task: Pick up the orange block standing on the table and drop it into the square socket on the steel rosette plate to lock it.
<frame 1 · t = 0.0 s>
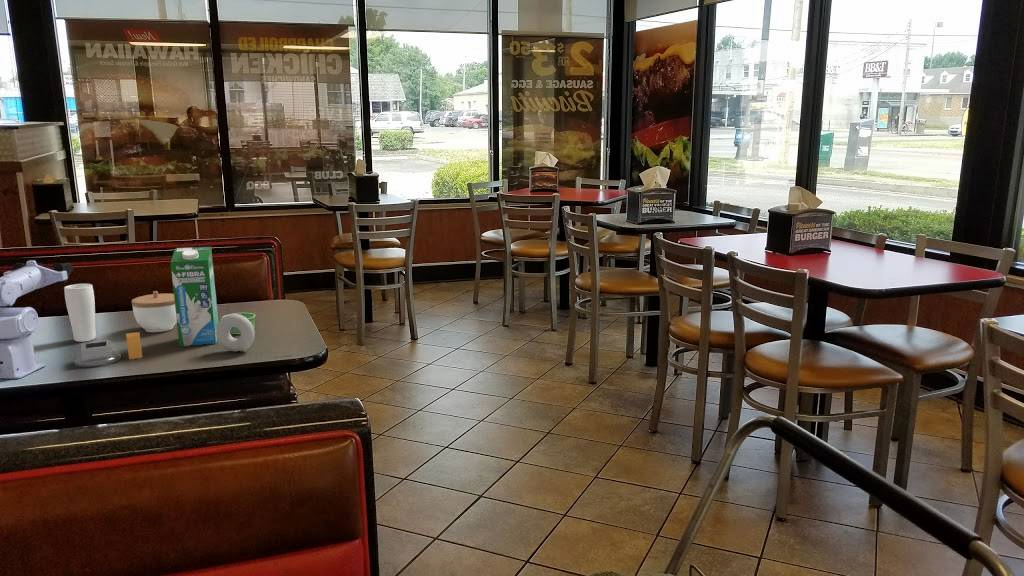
hand: (56, 266, 189), 22 cm above the table, tool horizontal, fingers open, 7 cm apart
lidded bowl: (159, 329, 212), on the table
ramekin: (239, 331, 209), on the table
milk carton: (200, 341, 199), on the table
orange block: (135, 357, 185), on the table
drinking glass: (85, 340, 201), on the table
rosette: (98, 361, 182), on the table
donut: (237, 352, 189), on the table
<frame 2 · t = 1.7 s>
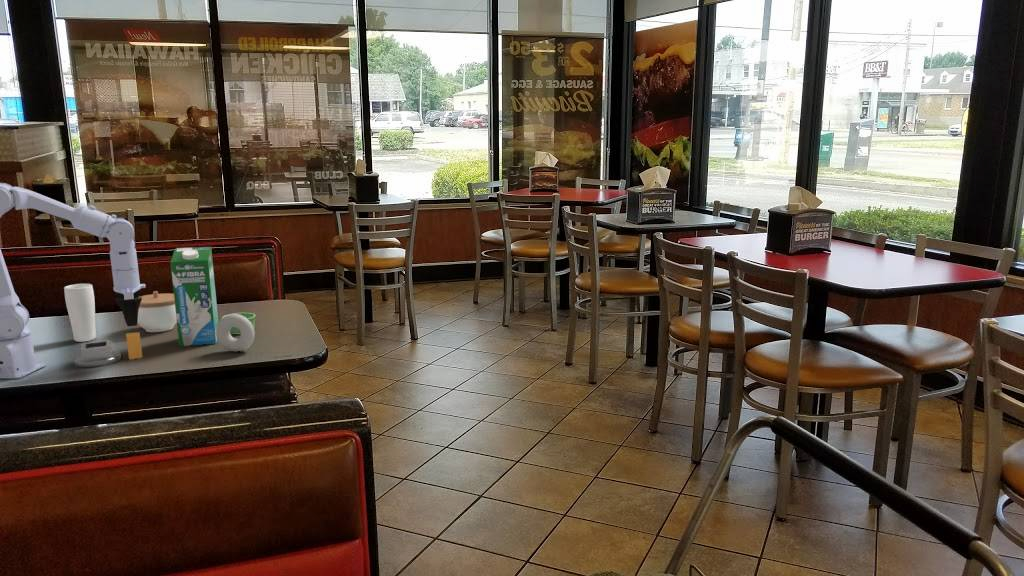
hand: (131, 322, 184), 9 cm above the table, tool pointing down, fingers open, 7 cm apart
nothing on the table moved.
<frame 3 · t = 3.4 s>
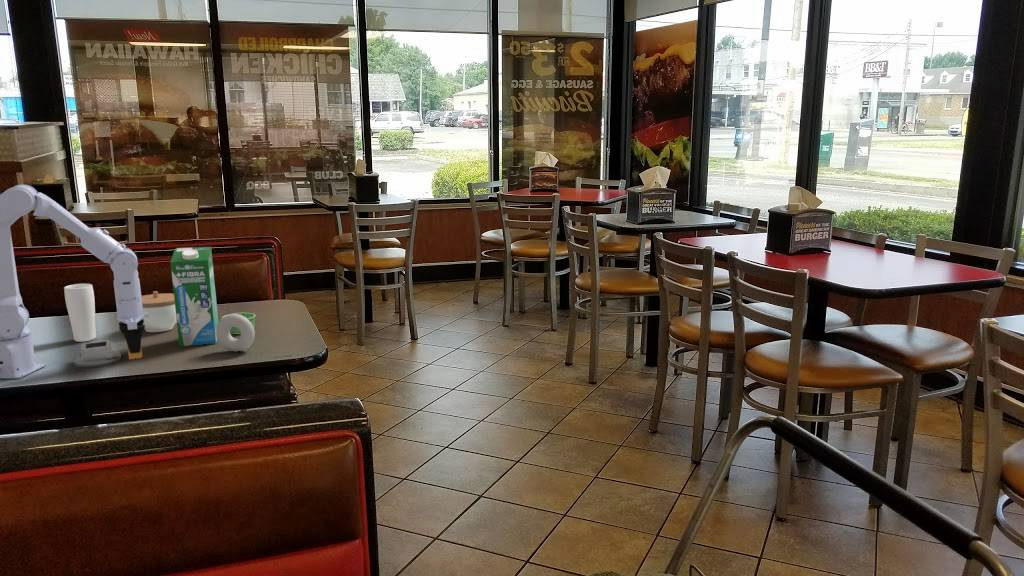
hand: (134, 350, 185), 2 cm above the table, tool pointing down, fingers closed on orange block, 3 cm apart
orange block: (135, 356, 185), on the table, touching gripper
everything else where it was.
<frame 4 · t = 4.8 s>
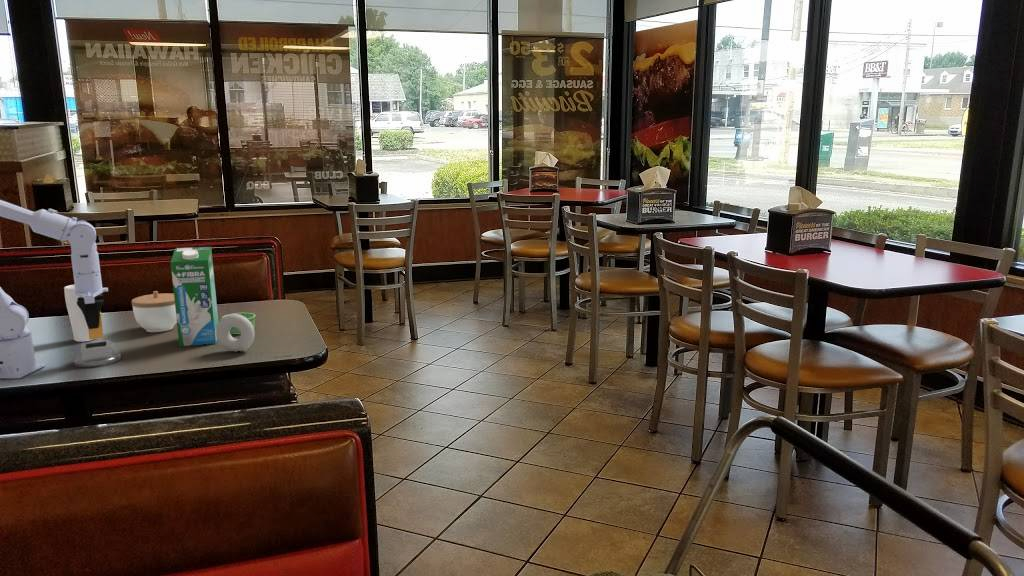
hand: (93, 326, 180), 9 cm above the table, tool pointing down, fingers closed on orange block, 3 cm apart
orange block: (96, 337, 181), point 6 cm above the table, touching gripper
everything else where it was.
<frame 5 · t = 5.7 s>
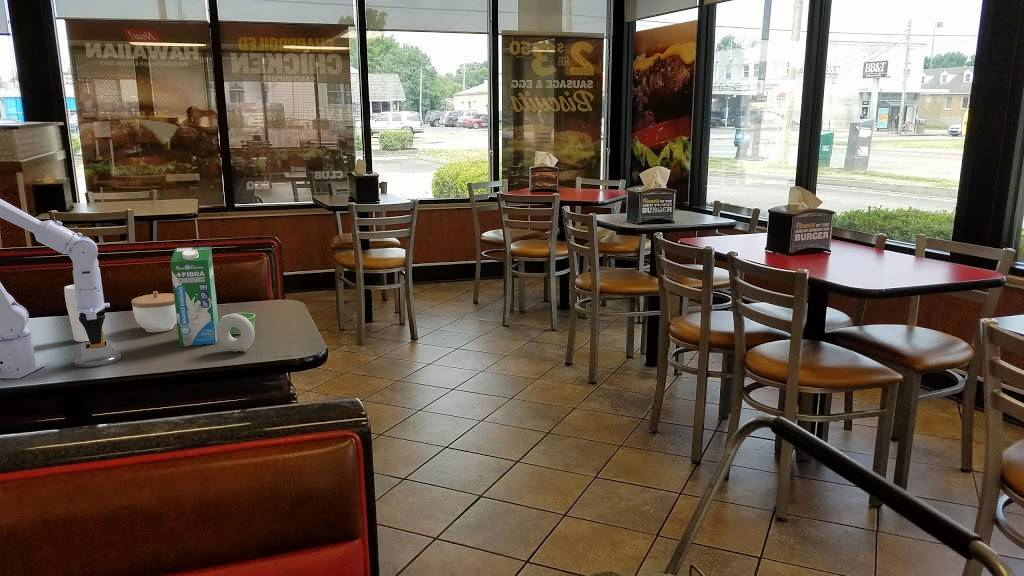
hand: (95, 341, 181), 5 cm above the table, tool pointing down, fingers closed on orange block, 3 cm apart
orange block: (98, 353, 182), point 2 cm above the table, touching gripper
everything else where it was.
when the fingers open (5 cm above the table, at t = 6.5 s): orange block stays where it is, resting on rosette.
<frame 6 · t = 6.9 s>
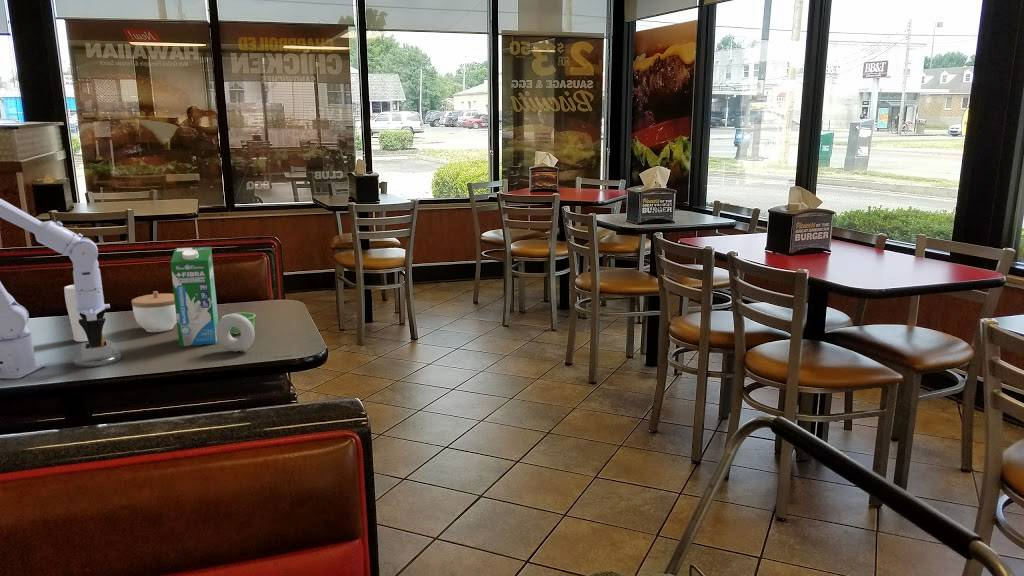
hand: (95, 342, 181), 5 cm above the table, tool pointing down, fingers open, 7 cm apart
orange block: (98, 356, 182), point 1 cm above the table, touching rosette
everything else where it was.
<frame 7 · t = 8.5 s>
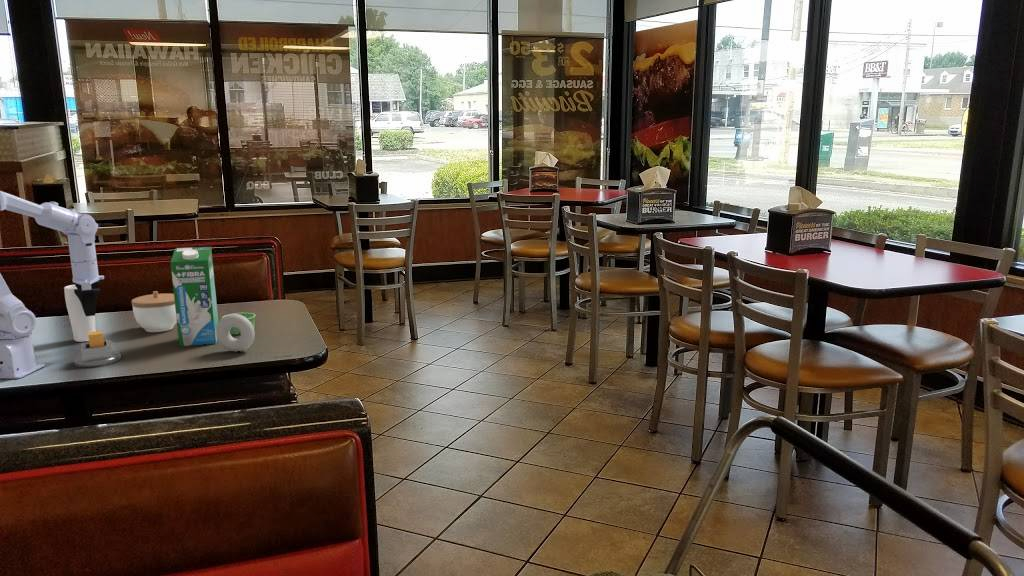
hand: (90, 312, 190), 10 cm above the table, tool pointing down, fingers open, 7 cm apart
nothing on the table moved.
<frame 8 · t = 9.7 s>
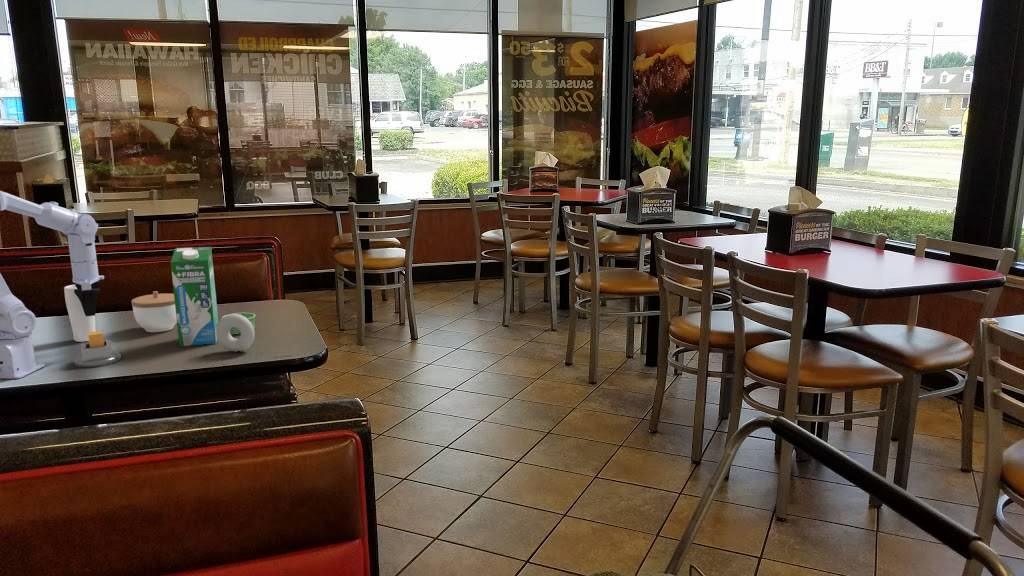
hand: (90, 312, 190), 10 cm above the table, tool pointing down, fingers open, 7 cm apart
nothing on the table moved.
at the end: orange block 0.2 cm off-centre on the rosette, point 1.2 cm above the rosette's base; the gripper is holding nothing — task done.
